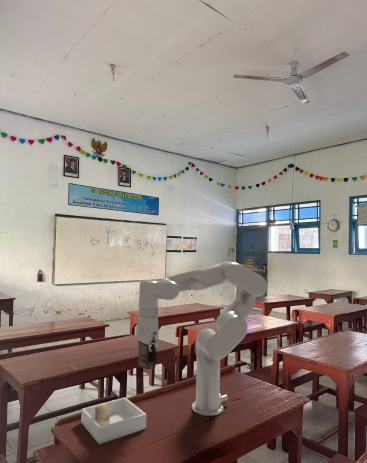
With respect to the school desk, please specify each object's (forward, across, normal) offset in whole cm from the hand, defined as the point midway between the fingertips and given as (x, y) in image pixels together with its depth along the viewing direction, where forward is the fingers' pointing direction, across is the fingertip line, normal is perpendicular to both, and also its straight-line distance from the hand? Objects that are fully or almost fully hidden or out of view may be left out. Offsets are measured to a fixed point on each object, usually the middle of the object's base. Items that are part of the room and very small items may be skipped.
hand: (147, 358), depth 133 cm
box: (+3, 0, 0) cm, 3 cm away
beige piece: (+21, 0, -18) cm, 27 cm away
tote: (+22, 0, -13) cm, 25 cm away
